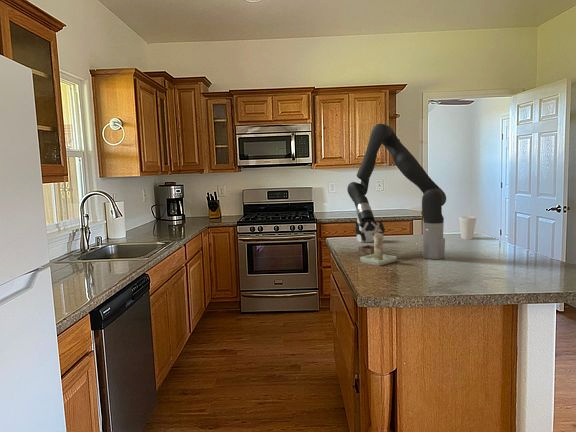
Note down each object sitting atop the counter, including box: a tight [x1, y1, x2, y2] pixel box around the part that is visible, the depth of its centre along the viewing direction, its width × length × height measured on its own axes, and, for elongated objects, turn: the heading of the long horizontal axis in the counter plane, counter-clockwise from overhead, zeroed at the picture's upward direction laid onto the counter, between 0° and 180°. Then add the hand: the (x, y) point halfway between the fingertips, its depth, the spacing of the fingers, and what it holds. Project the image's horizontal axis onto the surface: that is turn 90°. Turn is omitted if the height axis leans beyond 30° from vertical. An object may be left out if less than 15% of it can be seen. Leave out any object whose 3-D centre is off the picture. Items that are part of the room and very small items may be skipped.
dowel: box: [373, 233, 384, 260], centre depth 190 cm, size 4×4×12 cm
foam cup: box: [458, 215, 477, 240], centre depth 244 cm, size 10×9×13 cm
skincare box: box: [356, 216, 374, 243], centre depth 240 cm, size 8×6×15 cm
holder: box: [358, 244, 374, 256], centre depth 207 cm, size 8×8×4 cm
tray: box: [359, 253, 398, 267], centre depth 191 cm, size 11×13×2 cm
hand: (373, 240), depth 196 cm, fingers open, 8 cm apart
